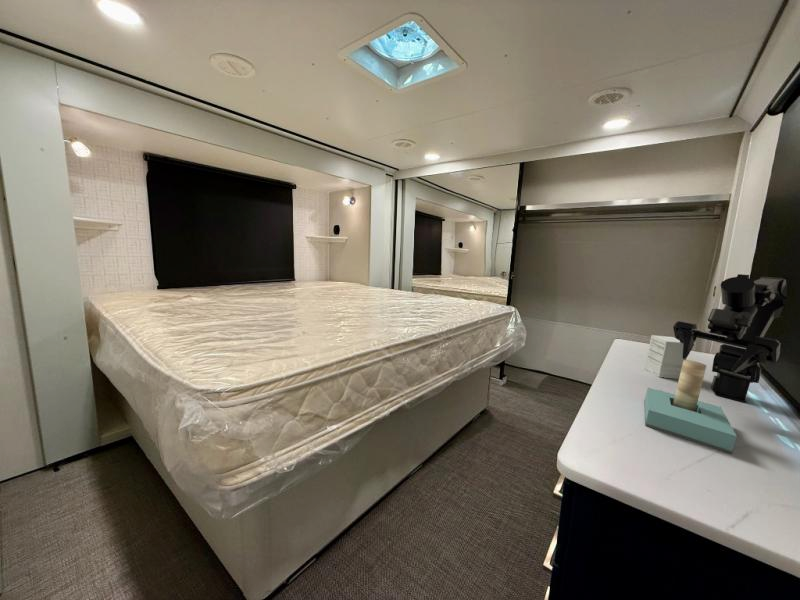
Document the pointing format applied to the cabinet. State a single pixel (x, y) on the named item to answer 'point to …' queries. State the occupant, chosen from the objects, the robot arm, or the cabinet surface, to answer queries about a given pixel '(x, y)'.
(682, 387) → the maple pin
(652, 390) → the pin block
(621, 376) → the cabinet surface
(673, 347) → the supplement box
